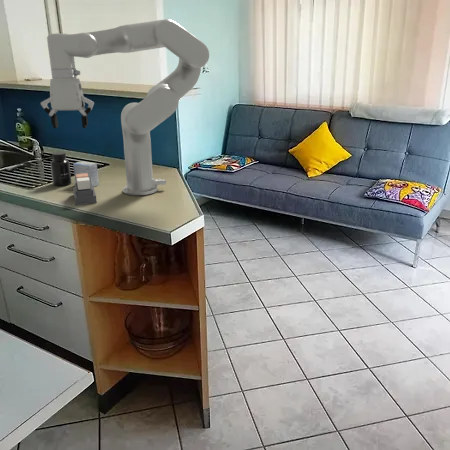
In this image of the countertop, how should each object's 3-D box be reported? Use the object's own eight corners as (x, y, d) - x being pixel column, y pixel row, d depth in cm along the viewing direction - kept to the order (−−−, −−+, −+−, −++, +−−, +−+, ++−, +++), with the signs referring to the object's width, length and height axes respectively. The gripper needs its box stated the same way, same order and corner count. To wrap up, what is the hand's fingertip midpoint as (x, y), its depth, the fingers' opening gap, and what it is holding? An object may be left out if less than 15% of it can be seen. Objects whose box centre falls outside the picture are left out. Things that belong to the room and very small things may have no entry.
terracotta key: (88, 181, 169) (87, 173, 168) (89, 184, 165) (88, 176, 164) (76, 182, 168) (75, 174, 166) (77, 185, 164) (76, 177, 163)
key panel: (93, 192, 172) (92, 180, 170) (96, 202, 161) (95, 190, 160) (73, 194, 170) (72, 182, 168) (75, 204, 159) (73, 192, 158)
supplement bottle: (66, 186, 179) (62, 155, 175) (49, 185, 180) (45, 155, 176) (75, 182, 185) (71, 151, 181) (59, 181, 186) (55, 151, 182)
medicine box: (99, 185, 181) (97, 163, 178) (92, 188, 178) (89, 165, 175) (83, 182, 184) (80, 160, 181) (75, 185, 181) (72, 163, 178)
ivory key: (89, 185, 164) (88, 177, 163) (90, 188, 160) (89, 180, 159) (77, 186, 163) (76, 178, 162) (78, 189, 159) (77, 181, 158)
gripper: (93, 73, 157) (98, 125, 163) (41, 73, 156) (48, 125, 163) (87, 75, 150) (93, 129, 156) (32, 75, 149) (40, 129, 156)
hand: (70, 127), depth 159 cm, fingers open, 9 cm apart
